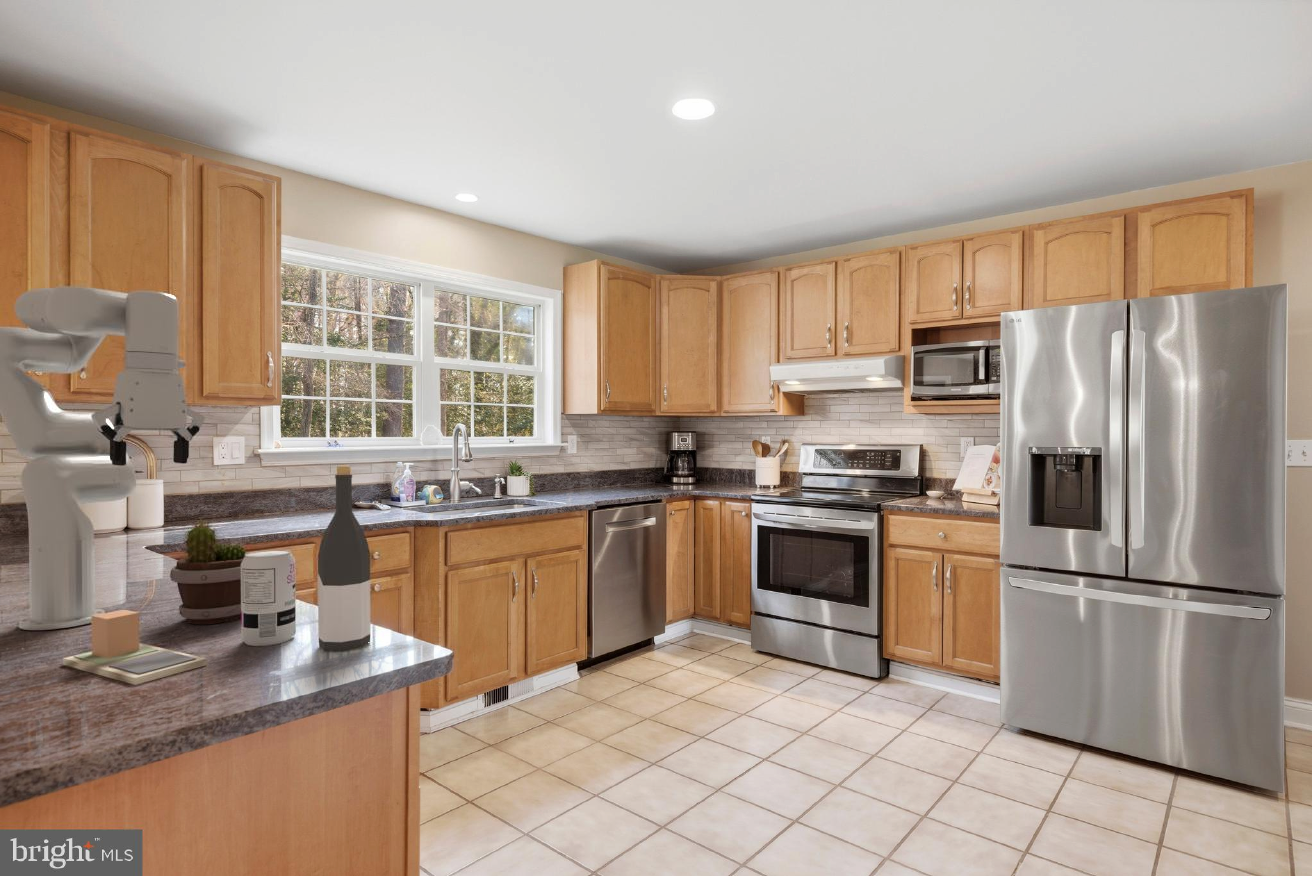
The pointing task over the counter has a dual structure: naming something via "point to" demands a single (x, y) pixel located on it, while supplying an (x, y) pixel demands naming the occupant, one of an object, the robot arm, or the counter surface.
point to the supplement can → (268, 597)
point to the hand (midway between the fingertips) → (150, 464)
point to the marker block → (115, 633)
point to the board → (137, 664)
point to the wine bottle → (343, 576)
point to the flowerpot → (209, 578)
